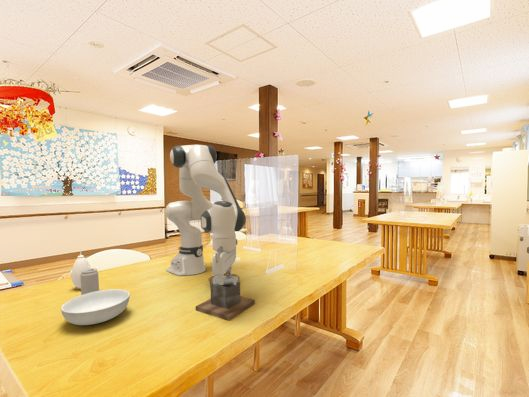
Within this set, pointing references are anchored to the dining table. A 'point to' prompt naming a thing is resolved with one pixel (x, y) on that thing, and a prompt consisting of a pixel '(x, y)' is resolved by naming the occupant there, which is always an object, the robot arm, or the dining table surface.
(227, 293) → the square pot on base
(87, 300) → the serving bowl
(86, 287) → the beverage can
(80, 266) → the sauce bottle
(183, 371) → the dining table surface
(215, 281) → the grey t-shaped peg
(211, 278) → the plant saucer
